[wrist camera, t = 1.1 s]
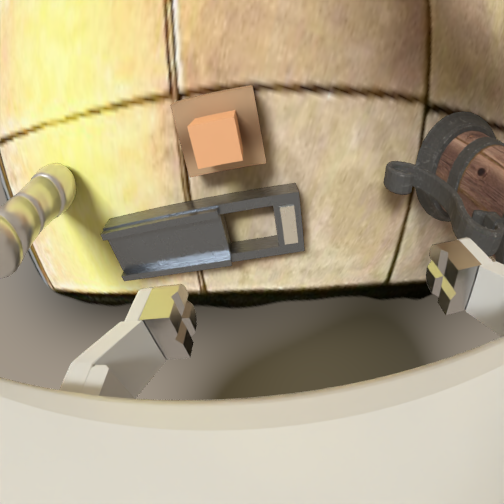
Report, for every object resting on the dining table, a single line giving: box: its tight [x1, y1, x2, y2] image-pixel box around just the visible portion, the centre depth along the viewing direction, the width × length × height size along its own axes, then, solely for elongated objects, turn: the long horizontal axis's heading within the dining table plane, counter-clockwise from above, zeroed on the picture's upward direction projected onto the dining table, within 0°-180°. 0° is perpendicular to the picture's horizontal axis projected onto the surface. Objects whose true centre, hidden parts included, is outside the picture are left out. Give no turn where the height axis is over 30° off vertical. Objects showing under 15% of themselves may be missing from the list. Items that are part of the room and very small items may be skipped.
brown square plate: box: [171, 85, 266, 177], centre depth 28 cm, size 8×8×3 cm
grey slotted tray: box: [101, 183, 304, 281], centre depth 35 cm, size 8×24×4 cm, turn 100°
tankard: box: [384, 112, 504, 264], centre depth 24 cm, size 24×17×20 cm
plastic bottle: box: [0, 163, 76, 279], centre depth 24 cm, size 6×7×20 cm
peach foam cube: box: [187, 110, 243, 169], centre depth 25 cm, size 4×4×4 cm
